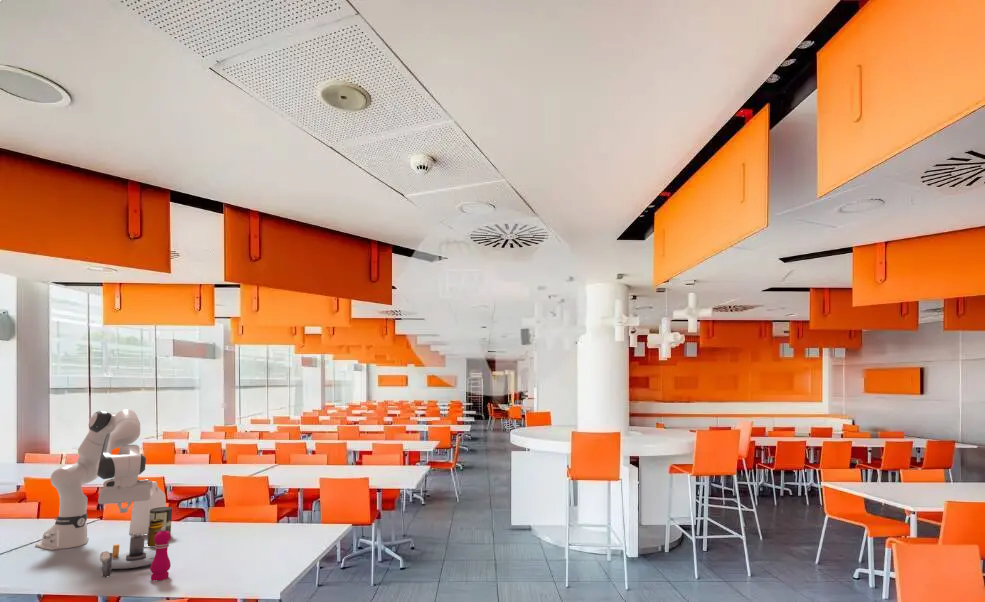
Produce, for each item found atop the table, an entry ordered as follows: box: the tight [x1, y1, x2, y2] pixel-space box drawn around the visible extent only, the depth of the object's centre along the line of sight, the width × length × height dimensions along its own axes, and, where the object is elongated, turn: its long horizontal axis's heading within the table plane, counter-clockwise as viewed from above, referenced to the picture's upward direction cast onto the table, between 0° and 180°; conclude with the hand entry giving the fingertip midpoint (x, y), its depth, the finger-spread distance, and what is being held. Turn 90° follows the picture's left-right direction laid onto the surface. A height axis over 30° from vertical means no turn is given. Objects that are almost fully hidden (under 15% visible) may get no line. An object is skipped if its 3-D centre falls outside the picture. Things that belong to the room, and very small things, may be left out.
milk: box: [128, 480, 167, 536], centre depth 309 cm, size 12×12×26 cm
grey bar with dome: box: [99, 550, 113, 578], centre depth 237 cm, size 4×3×10 cm
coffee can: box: [149, 506, 173, 535], centre depth 297 cm, size 10×10×14 cm
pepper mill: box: [149, 527, 172, 582], centre depth 235 cm, size 7×7×20 cm
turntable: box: [101, 543, 156, 570], centre depth 254 cm, size 24×24×6 cm
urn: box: [126, 534, 146, 561], centre depth 255 cm, size 8×8×10 cm
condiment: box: [146, 519, 163, 546], centre depth 283 cm, size 7×8×12 cm
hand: (123, 512), depth 261 cm, fingers closed
